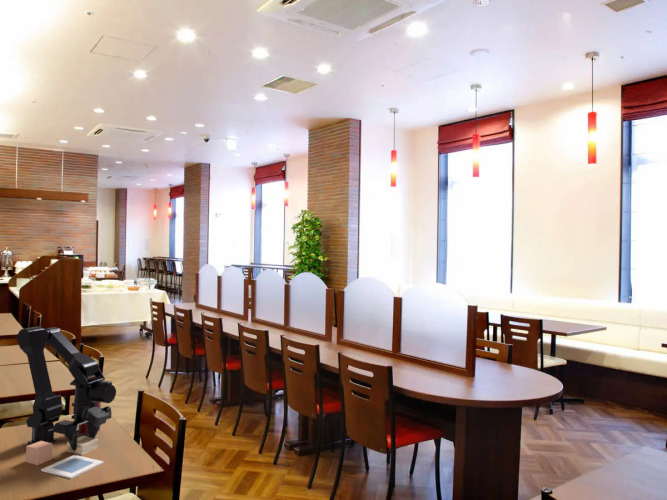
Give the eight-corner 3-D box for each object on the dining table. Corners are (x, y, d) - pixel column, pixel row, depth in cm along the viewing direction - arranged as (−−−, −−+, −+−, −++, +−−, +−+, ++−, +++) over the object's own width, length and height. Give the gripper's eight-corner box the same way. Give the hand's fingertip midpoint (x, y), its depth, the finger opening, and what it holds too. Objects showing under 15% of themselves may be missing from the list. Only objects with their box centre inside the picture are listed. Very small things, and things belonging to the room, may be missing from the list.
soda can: (91, 436, 180) (92, 402, 180) (73, 434, 181) (74, 400, 181) (104, 429, 187) (105, 396, 187) (87, 427, 188) (88, 395, 188)
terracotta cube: (25, 462, 157) (26, 446, 157) (40, 456, 162) (41, 440, 162) (37, 465, 155) (38, 448, 155) (52, 459, 160) (52, 443, 160)
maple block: (67, 451, 166) (67, 442, 166) (83, 444, 172) (83, 435, 172) (82, 455, 164) (82, 445, 164) (98, 447, 170) (98, 438, 170)
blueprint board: (41, 470, 151) (41, 468, 151) (74, 456, 163) (74, 454, 163) (71, 478, 147) (71, 476, 147) (103, 463, 158) (103, 461, 158)
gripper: (79, 410, 156) (77, 461, 156) (124, 395, 174) (123, 441, 174) (53, 405, 160) (51, 455, 160) (99, 391, 178) (98, 435, 178)
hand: (82, 446), depth 168 cm, fingers closed on maple block, 6 cm apart
